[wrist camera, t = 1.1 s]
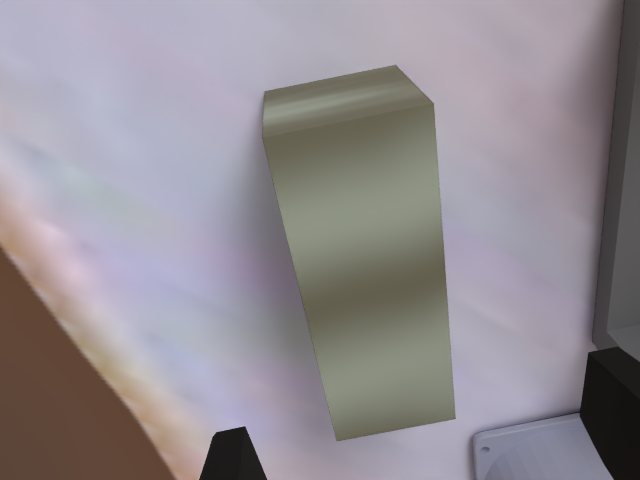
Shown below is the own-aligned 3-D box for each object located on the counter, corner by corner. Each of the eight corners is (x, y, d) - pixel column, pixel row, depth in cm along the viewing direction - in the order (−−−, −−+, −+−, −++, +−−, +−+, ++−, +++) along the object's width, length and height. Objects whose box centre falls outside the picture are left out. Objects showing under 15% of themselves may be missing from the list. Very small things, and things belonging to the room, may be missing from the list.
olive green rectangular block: (422, 331, 24) (455, 418, 19) (325, 350, 24) (336, 441, 20) (394, 63, 18) (434, 102, 13) (264, 89, 18) (262, 137, 14)
